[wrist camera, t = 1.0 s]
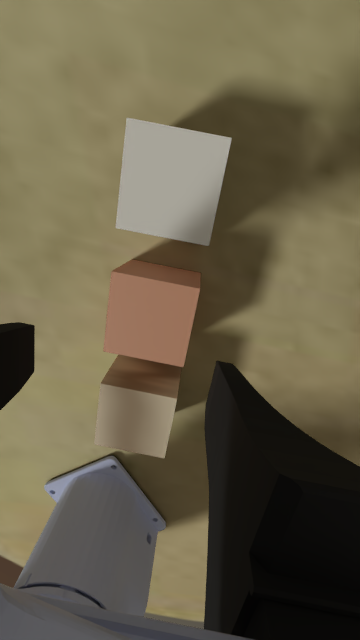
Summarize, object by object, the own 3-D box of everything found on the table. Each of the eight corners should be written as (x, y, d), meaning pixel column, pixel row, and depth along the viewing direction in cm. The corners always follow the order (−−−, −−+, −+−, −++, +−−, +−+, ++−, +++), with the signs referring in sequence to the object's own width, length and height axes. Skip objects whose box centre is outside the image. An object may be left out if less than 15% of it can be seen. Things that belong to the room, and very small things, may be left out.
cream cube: (224, 158, 17) (231, 137, 13) (207, 239, 19) (208, 246, 15) (146, 143, 18) (126, 117, 13) (136, 225, 19) (115, 227, 15)
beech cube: (182, 362, 22) (177, 398, 18) (171, 413, 24) (164, 458, 19) (121, 349, 22) (100, 383, 18) (114, 401, 24) (94, 444, 19)
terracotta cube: (200, 272, 20) (200, 288, 15) (187, 335, 21) (183, 367, 17) (132, 259, 20) (111, 271, 15) (124, 323, 22) (103, 351, 17)
